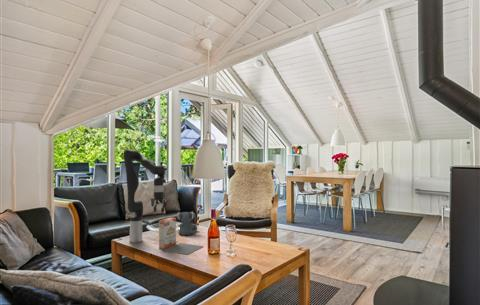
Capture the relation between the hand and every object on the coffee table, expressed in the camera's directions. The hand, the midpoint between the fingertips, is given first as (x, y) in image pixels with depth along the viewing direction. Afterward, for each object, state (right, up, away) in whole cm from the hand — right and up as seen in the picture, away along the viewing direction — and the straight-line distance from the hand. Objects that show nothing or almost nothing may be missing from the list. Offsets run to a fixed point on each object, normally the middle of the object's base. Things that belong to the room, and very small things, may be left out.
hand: (158, 212), depth 239 cm
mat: (+21, -25, -11) cm, 35 cm away
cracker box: (+8, -26, -4) cm, 27 cm away
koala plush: (+16, -26, +34) cm, 45 cm away
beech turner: (+6, -26, +8) cm, 28 cm away
